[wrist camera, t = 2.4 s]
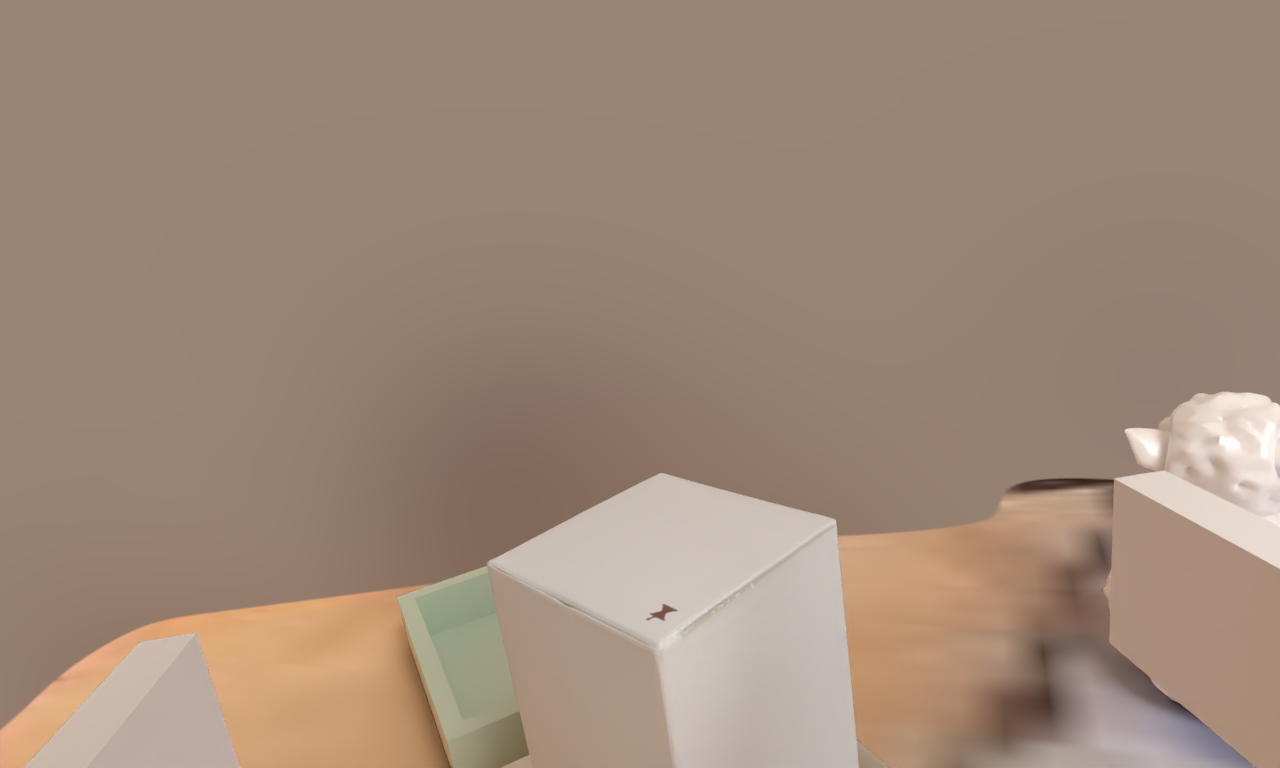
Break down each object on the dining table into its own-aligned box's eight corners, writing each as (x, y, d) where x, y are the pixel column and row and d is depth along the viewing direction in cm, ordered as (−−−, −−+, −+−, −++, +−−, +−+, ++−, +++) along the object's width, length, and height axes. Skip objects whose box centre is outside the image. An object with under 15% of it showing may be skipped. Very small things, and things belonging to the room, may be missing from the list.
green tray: (624, 567, 46) (617, 521, 45) (740, 679, 35) (732, 620, 34) (409, 646, 41) (396, 596, 40) (463, 806, 30) (447, 741, 29)
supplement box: (877, 878, 25) (849, 516, 21) (721, 1073, 20) (653, 652, 17) (707, 767, 30) (663, 465, 27) (553, 900, 26) (476, 557, 22)
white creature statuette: (1383, 648, 31) (1422, 358, 28) (1408, 798, 25) (1463, 445, 21) (1108, 594, 37) (1114, 349, 34) (1072, 703, 31) (1074, 416, 27)
